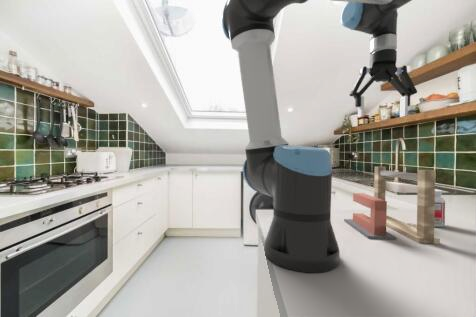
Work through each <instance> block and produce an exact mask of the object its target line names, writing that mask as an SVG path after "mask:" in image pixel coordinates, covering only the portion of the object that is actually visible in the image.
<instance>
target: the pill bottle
mask: <svg viewBox="0 0 476 317" xmlns="http://www.w3.org/2000/svg"><path fill="white" fill-rule="evenodd" d="M442 195H443V190H441V189H435V218H434V228H443V227H445V225H446V221H445V220H446V200H445V198H444V197H442Z"/></svg>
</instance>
